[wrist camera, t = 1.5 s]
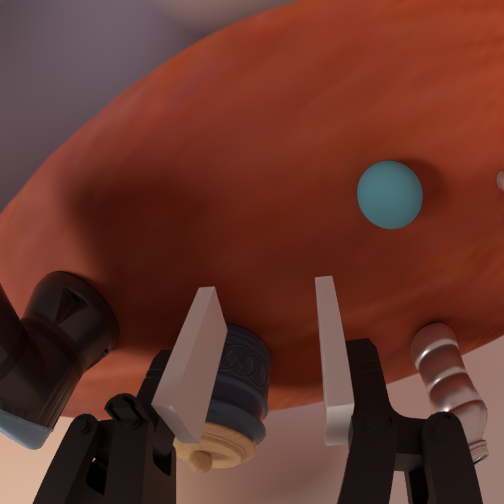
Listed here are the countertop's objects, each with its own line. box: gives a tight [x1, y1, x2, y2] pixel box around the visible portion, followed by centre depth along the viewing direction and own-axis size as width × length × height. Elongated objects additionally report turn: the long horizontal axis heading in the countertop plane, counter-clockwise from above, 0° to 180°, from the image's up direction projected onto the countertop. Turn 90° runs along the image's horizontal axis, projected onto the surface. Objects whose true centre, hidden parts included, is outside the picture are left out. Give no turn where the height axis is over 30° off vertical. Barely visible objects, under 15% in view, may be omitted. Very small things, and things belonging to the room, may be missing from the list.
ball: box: [357, 161, 423, 229], centre depth 24 cm, size 6×6×6 cm
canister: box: [173, 324, 272, 473], centre depth 32 cm, size 13×13×18 cm
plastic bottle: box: [410, 323, 489, 466], centre depth 26 cm, size 6×7×20 cm
